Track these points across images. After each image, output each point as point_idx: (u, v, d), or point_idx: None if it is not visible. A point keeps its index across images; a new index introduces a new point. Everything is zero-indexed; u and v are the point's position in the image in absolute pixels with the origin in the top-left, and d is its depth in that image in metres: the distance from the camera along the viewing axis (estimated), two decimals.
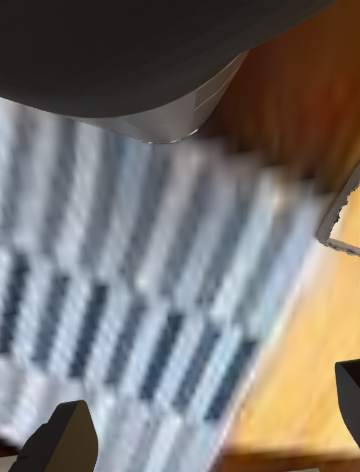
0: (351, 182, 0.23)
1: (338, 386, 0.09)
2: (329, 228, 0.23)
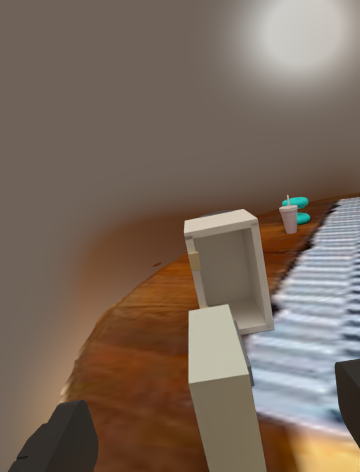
0: None
1: (338, 386, 0.09)
2: None
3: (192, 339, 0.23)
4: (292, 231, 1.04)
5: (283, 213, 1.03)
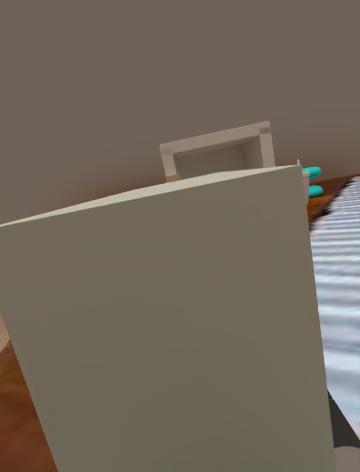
0: None
1: None
2: None
3: None
4: None
5: None
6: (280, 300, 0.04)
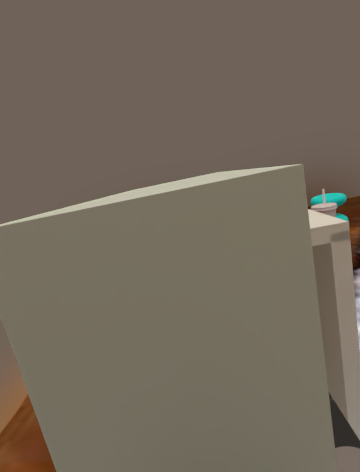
0: None
1: None
2: None
3: (109, 196, 0.08)
4: None
5: None
6: (281, 301, 0.03)
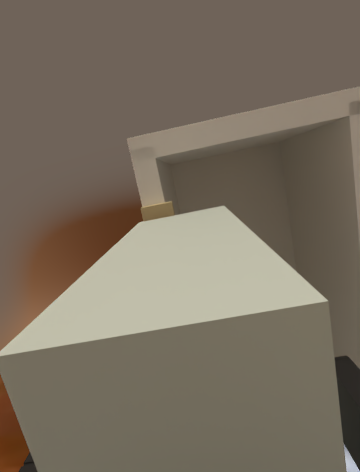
0: None
1: None
2: None
3: (118, 249, 0.08)
4: None
5: None
6: (304, 423, 0.04)
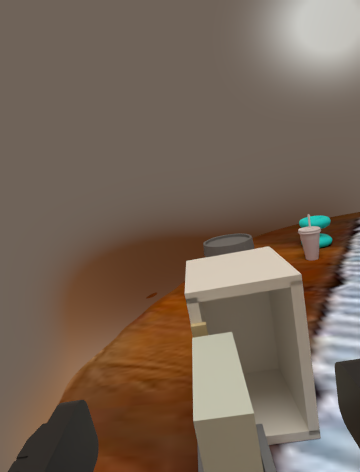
0: None
1: (338, 386, 0.09)
2: None
3: (196, 370, 0.23)
4: (313, 257, 0.87)
5: (303, 236, 0.87)
6: (250, 434, 0.19)
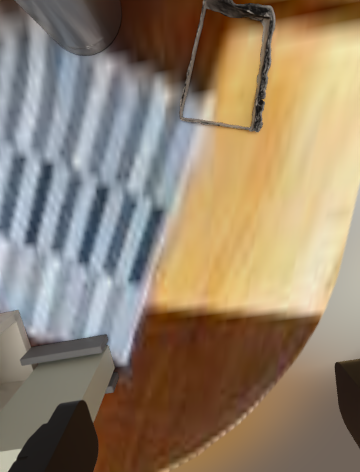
0: (190, 72, 0.34)
1: (338, 386, 0.09)
2: (181, 106, 0.34)
3: None
4: None
5: None
6: None
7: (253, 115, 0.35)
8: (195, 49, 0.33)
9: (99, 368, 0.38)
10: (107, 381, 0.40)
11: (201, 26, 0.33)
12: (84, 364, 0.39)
